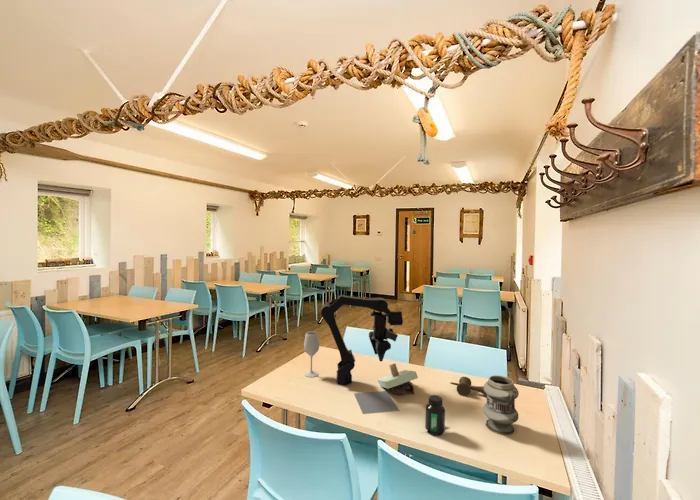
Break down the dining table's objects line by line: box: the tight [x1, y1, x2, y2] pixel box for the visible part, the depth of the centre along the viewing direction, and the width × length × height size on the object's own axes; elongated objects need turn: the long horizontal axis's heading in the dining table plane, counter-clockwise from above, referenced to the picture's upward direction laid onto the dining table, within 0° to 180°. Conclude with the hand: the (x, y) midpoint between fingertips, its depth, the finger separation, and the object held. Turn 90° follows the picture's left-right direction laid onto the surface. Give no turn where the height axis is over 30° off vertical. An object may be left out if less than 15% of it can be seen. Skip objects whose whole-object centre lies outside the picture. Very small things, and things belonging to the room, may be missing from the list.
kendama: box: [449, 376, 487, 397], centre depth 149 cm, size 6×10×20 cm
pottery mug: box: [391, 381, 415, 395], centre depth 149 cm, size 12×10×8 cm
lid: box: [377, 363, 419, 390], centre depth 150 cm, size 14×16×8 cm
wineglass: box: [303, 330, 320, 378], centre depth 166 cm, size 8×8×21 cm
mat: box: [353, 390, 400, 415], centre depth 138 cm, size 15×17×1 cm
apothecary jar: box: [482, 374, 519, 436], centre depth 122 cm, size 12×12×18 cm
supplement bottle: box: [424, 394, 446, 437], centre depth 119 cm, size 7×7×12 cm
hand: (378, 357), depth 156 cm, fingers open, 9 cm apart
